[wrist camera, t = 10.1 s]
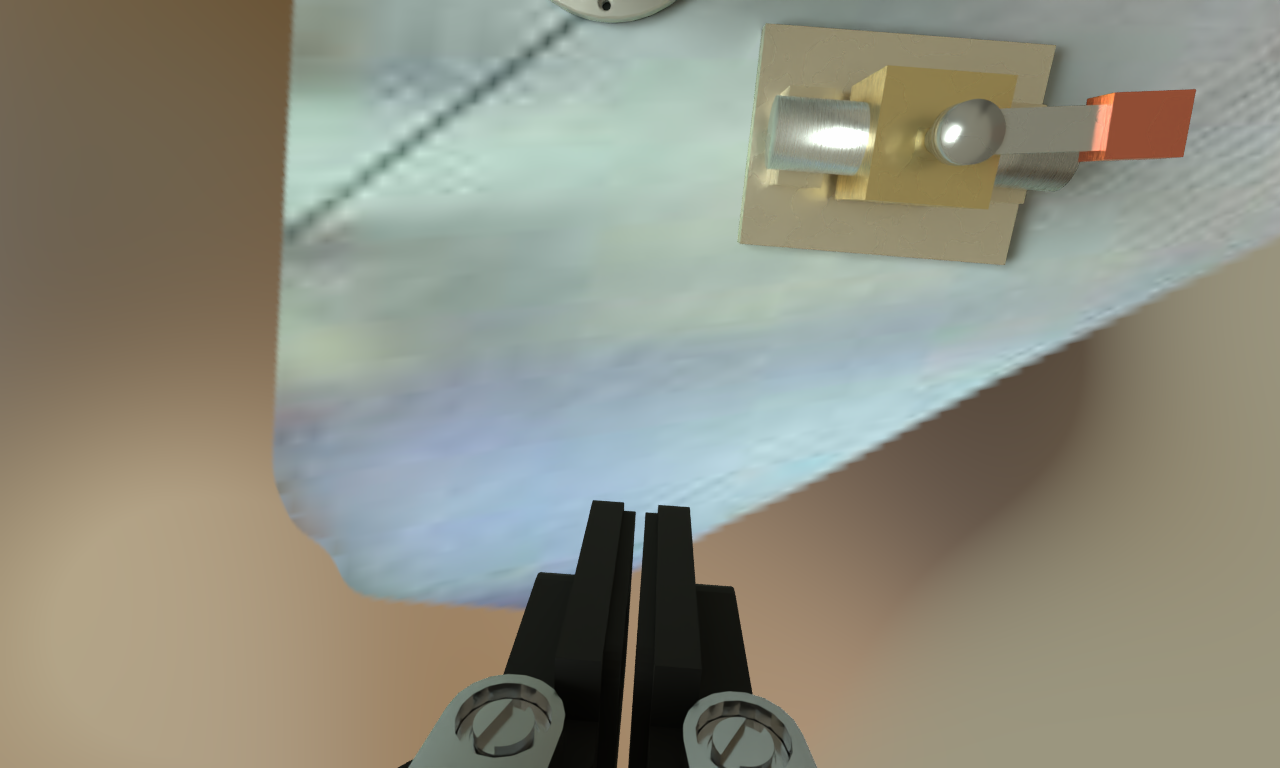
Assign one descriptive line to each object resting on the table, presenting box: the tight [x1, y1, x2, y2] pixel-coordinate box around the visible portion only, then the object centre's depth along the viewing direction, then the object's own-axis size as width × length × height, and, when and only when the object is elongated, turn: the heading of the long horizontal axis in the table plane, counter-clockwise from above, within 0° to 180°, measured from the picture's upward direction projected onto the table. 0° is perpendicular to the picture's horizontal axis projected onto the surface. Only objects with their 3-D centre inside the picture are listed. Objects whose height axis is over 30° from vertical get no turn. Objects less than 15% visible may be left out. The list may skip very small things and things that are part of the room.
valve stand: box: [737, 23, 1080, 265], centre depth 34 cm, size 12×16×10 cm
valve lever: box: [929, 89, 1196, 166], centre depth 28 cm, size 10×3×2 cm, turn 92°
